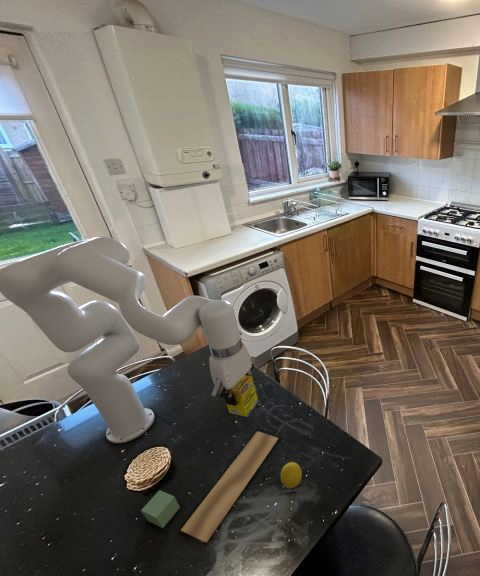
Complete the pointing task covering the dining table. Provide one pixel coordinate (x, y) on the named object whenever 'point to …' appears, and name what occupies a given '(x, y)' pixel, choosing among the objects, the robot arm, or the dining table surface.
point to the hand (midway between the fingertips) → (240, 394)
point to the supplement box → (244, 397)
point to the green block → (160, 509)
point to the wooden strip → (229, 488)
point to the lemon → (291, 475)
